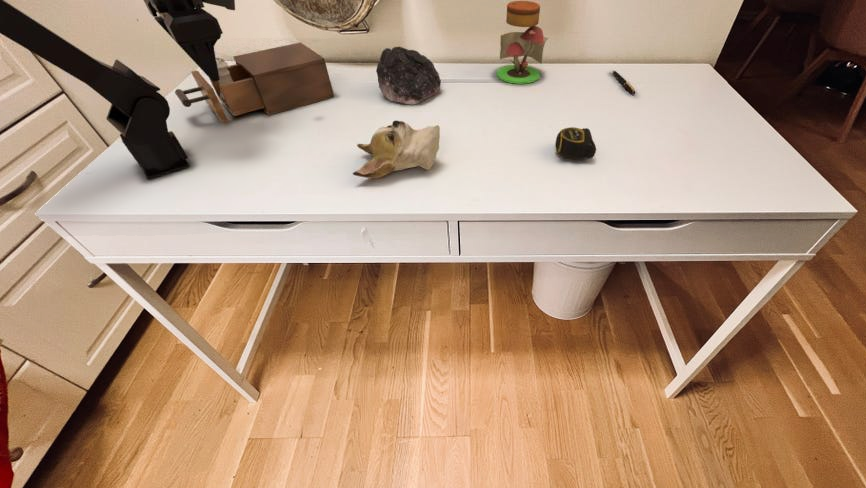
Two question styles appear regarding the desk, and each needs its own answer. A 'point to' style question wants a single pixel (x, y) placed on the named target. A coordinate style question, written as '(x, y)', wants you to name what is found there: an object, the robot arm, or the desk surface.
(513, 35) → the mushroom figurine
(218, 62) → the rook chess piece
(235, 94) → the drawer
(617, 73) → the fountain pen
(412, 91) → the crystal cluster
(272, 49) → the cabinet
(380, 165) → the ceramic sculpture
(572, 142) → the tape measure
